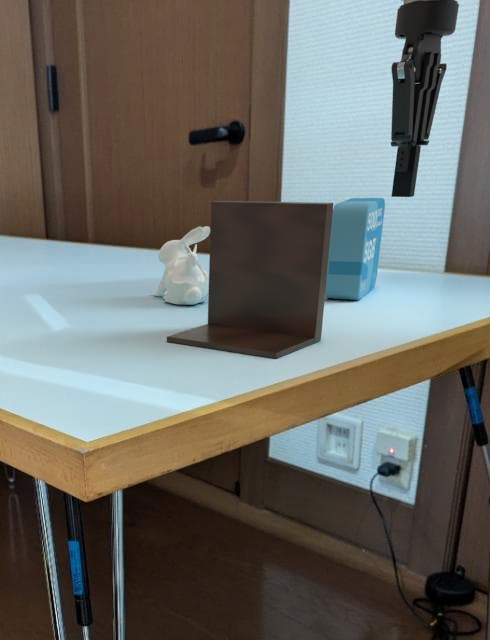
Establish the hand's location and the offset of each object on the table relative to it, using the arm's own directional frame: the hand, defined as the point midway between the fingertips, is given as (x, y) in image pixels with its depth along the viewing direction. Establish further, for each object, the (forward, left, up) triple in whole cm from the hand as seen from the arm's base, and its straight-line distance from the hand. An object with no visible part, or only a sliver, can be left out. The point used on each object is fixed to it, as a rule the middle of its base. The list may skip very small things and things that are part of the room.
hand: (402, 196), depth 116 cm
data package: (0, +14, -12) cm, 18 cm away
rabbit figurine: (+17, +29, -12) cm, 36 cm away
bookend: (-3, +46, -12) cm, 48 cm away
